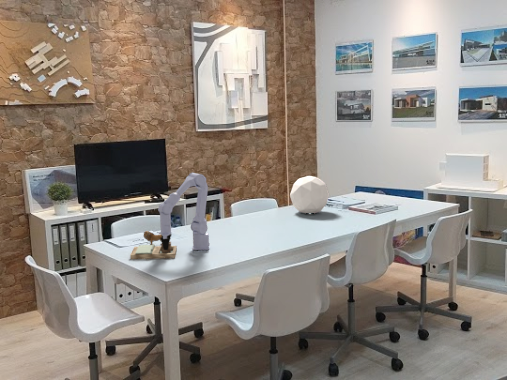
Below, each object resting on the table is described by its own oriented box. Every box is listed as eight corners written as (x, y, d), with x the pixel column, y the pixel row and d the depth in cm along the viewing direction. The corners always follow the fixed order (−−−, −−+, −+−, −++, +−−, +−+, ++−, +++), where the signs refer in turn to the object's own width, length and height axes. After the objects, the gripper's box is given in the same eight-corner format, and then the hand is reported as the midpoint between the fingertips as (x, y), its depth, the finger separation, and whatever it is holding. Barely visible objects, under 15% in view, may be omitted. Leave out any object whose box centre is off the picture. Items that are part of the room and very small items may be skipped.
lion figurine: (143, 247, 331) (142, 232, 330) (144, 244, 337) (143, 230, 335) (168, 246, 333) (168, 231, 331) (169, 244, 338) (168, 229, 336)
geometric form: (315, 228, 423) (317, 201, 401) (282, 210, 435) (283, 183, 414) (334, 205, 439) (338, 178, 417) (302, 189, 451) (304, 162, 429)
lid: (154, 245, 322) (154, 242, 322) (152, 253, 306) (151, 250, 306) (139, 246, 321) (138, 243, 321) (135, 253, 305) (135, 250, 305)
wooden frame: (176, 250, 324) (176, 245, 323) (175, 258, 307) (174, 253, 307) (134, 251, 322) (134, 246, 322) (130, 259, 305) (130, 254, 305)
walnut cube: (171, 250, 317) (171, 241, 317) (170, 252, 312) (170, 243, 312) (162, 250, 317) (162, 241, 316) (161, 252, 312) (161, 243, 311)
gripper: (159, 222, 319) (160, 245, 321) (157, 227, 305) (158, 252, 307) (171, 221, 320) (172, 244, 322) (170, 227, 306) (171, 251, 308)
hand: (166, 248), depth 315 cm, fingers closed on walnut cube, 5 cm apart
